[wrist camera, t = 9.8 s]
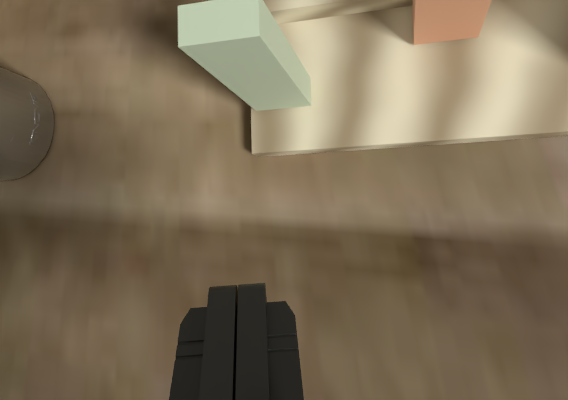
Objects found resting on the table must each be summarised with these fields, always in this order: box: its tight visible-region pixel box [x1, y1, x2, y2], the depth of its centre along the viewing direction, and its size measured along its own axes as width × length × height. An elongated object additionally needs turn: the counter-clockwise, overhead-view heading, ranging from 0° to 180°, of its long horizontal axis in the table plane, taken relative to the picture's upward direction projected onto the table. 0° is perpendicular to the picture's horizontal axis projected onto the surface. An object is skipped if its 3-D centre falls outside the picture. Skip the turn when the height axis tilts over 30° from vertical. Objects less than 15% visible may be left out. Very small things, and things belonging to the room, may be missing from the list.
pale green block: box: [178, 0, 311, 111], centre depth 28 cm, size 4×2×12 cm, turn 91°
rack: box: [251, 0, 568, 157], centre depth 31 cm, size 27×12×4 cm, turn 91°
